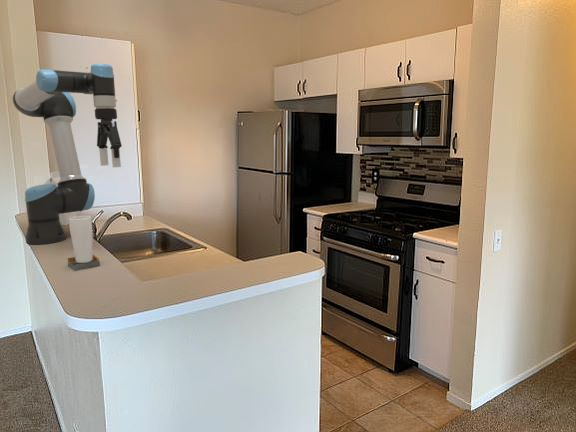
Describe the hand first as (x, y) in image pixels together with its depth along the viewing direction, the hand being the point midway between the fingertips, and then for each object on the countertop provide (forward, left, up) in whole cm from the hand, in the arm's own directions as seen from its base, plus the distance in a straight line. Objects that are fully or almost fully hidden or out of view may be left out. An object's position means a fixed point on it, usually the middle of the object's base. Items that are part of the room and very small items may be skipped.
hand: (110, 166), depth 173 cm
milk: (-74, -4, -32) cm, 80 cm away
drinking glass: (+18, -17, -30) cm, 39 cm away
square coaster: (+17, -17, -32) cm, 40 cm away
